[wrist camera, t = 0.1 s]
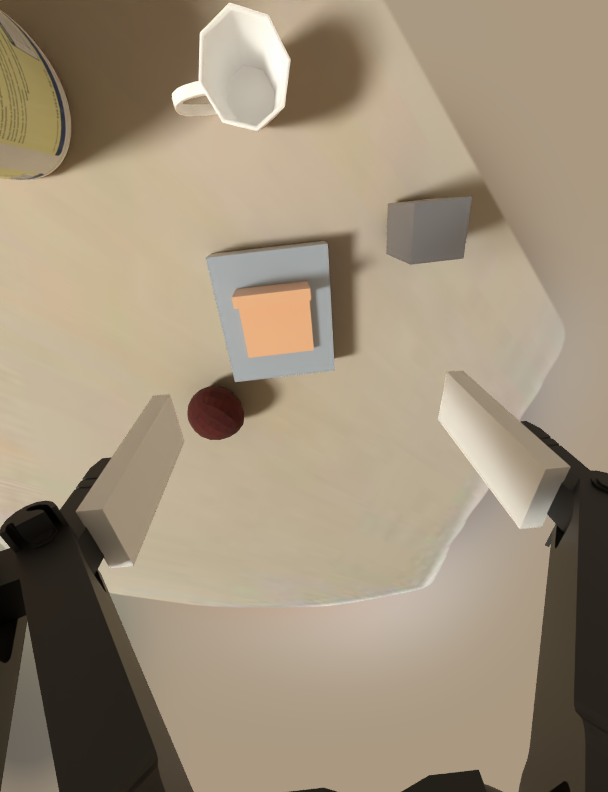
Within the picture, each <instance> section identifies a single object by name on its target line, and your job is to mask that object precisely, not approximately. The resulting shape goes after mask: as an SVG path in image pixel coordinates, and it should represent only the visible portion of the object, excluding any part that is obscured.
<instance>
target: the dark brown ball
mask: <svg viewBox="0 0 608 792" xmlns="http://www.w3.org/2000/svg"><path fill="white" fill-rule="evenodd" d="M188 420H189V422H190V424H191V426H192V428H193V429H194V430H195V432H197V433H198V434H199V435H200V436H201V437H204V438H207V439H210V440H221V439H224V438H227V437H230V436H232V435H233V434H235V433H237V432H238V431H239V429H240V428H241V426H242V425H243V422H244V410H243V408H242V405H241V402H240V401H239V399H238V398H237V397H236V396H235V394H234V393H233V392H231V391H229V390H227V389H225V388H222V387H216V386H211V387H206V388H204V389H201V390H200V391H198V392H197V393H196V394H195V395H194V396H193V398H192V399H191V401H190V403H189V405H188Z"/></svg>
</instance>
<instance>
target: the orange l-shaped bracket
mask: <svg viewBox="0 0 608 792" xmlns="http://www.w3.org/2000/svg"><path fill="white" fill-rule="evenodd" d="M231 298H232V302H233V307H234V309H239V313H240V318H241V323H242V328H243V333H244V338H245V343H246V348H247V352H248V357H249V358H253V357H261V356H270V355H279V354H287V353H296V352H304V351H313V350H314V345H313V334H312V322H311V311H310V300H311V292H310V286H309V284H308V281H302V282H293V283H285V284H276V285H267V286H259V287H250V288H242V289H236V290H235V292H234V294H233V296H232V297H231Z"/></svg>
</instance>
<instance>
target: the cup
mask: <svg viewBox="0 0 608 792" xmlns="http://www.w3.org/2000/svg"><path fill="white" fill-rule="evenodd" d="M290 61H291V59H290V57H289V55H288V53H287V51H286V49H285V47H284V45H283V43H282V41H281V39H280V37H279V35H278V33H277V31H276V29H275V27H274V25H273V23H272V21H271V19H270V17H269V15H268V14H265V13H262V12H258V11H255V10H252V9H249V8H246V7H243V6H239V5H236V4H233V3H230V2H229V3H228V4H227V5H226V6H225V7H224V8H223V9H222V10H221V11H220V12H219V13H218V15H217V16H216V17H215V18H214V19H213V20H212V21H211V22H210V23H209V24H208V25H207V26H206V27H205V28H204V29H203V30H202V31H201V32H200V45H199V81H196V82H192V83H189V84H186V85H183V86H181V87H179V88H177V89H176V90H175V91H174V92H173V93H172V100H173V104H174V107H175V110H176V112H177V113H178V114H180V115H183V116H210V115H219V117H220V119H221V120H222V122H223V123H226V124H230V125H233V126H236V127H240V128H244V129H248V130H252V131H256V132H259V131H260V130H261V129H262V128H264V127H265V126H266V125H267V124H268V123H269V122H270V121H271V120H273V119H274V118H275V117H276V116H277V115H278V114H279V113H280V111H281V110H282V109H283V108H284V107H285V101H286V93H287V85H288V77H289V69H290ZM201 96H207V98H208V99H209V101H210V103H211V104H182V103H183V102H184V101H186V100H188V99H191V98H196V97H201Z"/></svg>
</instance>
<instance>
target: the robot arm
mask: <svg viewBox="0 0 608 792" xmlns="http://www.w3.org/2000/svg"><path fill="white" fill-rule="evenodd" d="M438 420H439V421H440V423H441V424H442V425H443V427H444V428H445V429H446V431H447V432H448V433H449V435H450V436H451V437H452V439H453V440H454V441H455V443H456V444H457V445H458V447H459V448H460V449H461V451H462V452H463V454H464V455H465V456H466V458H467V459H468V460H469V462H470V463H471V464H472V466H473V467H474V468H475V470H476V471H477V472H478V474H479V475H480V476H481V478H482V479H483V480H484V482H485V483H486V484H487V486H488V487H489V488H490V489H491V491H492V492H493V494H494V495H495V496H496V498H497V499H498V500H499V502H500V503H501V504H502V506H503V507H504V508H505V510H506V511H507V512H508V514H509V515H510V516H511V517H512V519H513V520H514V522H515V523H516V524H517V526H518V527H519V528H520V529H524V528H535V527H542V525H543V523H544V521H545V519H546V516H547V515H549V517H550V518H551V519H552V520H553V521H554V522H555V523H556V525H555V527H554V529H553V531H552V532H551V534H550V536H549V538H548V540H547V542H546V544H545V545H546V546H548V547H549V546H550V544H551V548H550V558H549V568H548V577H547V587H546V597H545V606H544V616H543V625H542V636H541V645H540V655H539V664H538V674H537V683H536V693H535V702H534V713H533V722H532V731H531V742H530V749H529V755H528V759H527V762H526V765H525V768H524V770H523V773H522V778H521V782H520V787H519V792H608V473H604V472H600V471H590V470H589V469H588V468H586V467H585V466H584V465H583V464H582V463H581V462H580V461H578V460H577V459H576V458H575V457H574V456H572V455H571V454H570V453H569V452H568V451H567V450H565V449H564V448H563V447H562V446H559V444H558V443H557V442H556V441H555V440H554V439H551V438H550V436H549V435H548V434H546V433H545V432H544V431H543V430H542V429H541V428H539V427H537V426H535V425H533V424H531V423H529V422H527V421H521V422H520V421H519V420H518V419H516V418H515V417H514V416H513V415H512V414H511V413H510V412H509V411H507V410H506V409H505V408H504V407H503V406H502V405H501V404H500V403H498V402H497V401H496V400H495V399H494V398H493V397H492V396H491V395H490V394H488V393H487V392H486V391H485V390H484V389H483V388H482V387H481V386H479V385H478V384H477V383H476V382H475V381H474V380H473V379H472V378H470V377H469V376H468V375H467V374H466V373H465V372H464V371H452V372H447V374H446V380H445V385H444V390H443V396H442V401H441V406H440V412H439V417H438ZM183 443H184V438H183V435H182V432H181V429H180V426H179V422H178V419H177V416H176V413H175V409H174V406H173V403H172V400H171V397H170V394H169V395H157V396H153V397H152V398H151V400H150V401H149V403H148V404H147V406H146V407H145V409H144V410H143V412H142V413H141V415H140V416H139V418H138V419H137V421H136V422H135V424H134V425H133V427H132V428H131V430H130V431H129V433H128V434H127V436H126V437H125V439H124V440H123V442H122V443H121V445H120V446H119V448H118V449H117V451H116V452H115V454H114V455H113V457H112V458H102V459H101V460H100V461H99V462H97V463H96V464H95V465H94V466H92V467H91V468H90V469H89V471H88V472H87V473H86V475H85V476H84V478H83V481H81V482H80V483H79V484H78V486H77V487H76V490H74V491H73V493H72V494H71V495H70V497H69V498H68V500H67V501H66V502H65V504H64V505H63V506H62V508H61V509H60V510H59V509H58V507H57V506H56V505H55V504H54V503H53V502H51V501H41V502H36V503H33V504H30V505H28V506H25V507H24V508H22V509H20V510H19V511H17V512H15V513H14V514H13V515H12V516H10V517H9V518H8V519H7V520H6V521H5V522H4V524H3V525H2V526H1V529H0V536H1V537H2V538H3V539H4V541H5V542H6V543H7V544H8V545H9V547H10V548H9V549H6V550H3V551H0V791H1V784H2V778H3V772H4V765H5V759H6V752H7V746H8V740H9V733H10V727H11V721H12V714H13V708H14V702H15V695H16V689H17V682H18V676H19V670H20V663H21V657H22V651H23V644H24V638H25V632H26V625H27V620H28V626H29V631H30V636H31V641H32V647H33V653H34V658H35V663H36V669H37V674H38V679H39V685H40V690H41V695H42V700H43V706H44V711H45V717H46V722H47V727H48V733H49V738H50V744H51V749H52V754H53V760H54V765H55V771H56V776H57V781H58V787H59V792H193V790H192V787H191V785H190V783H189V780H188V778H187V775H186V773H185V771H184V769H183V767H182V764H181V761H180V759H179V757H178V754H177V752H176V750H175V748H174V745H173V743H172V740H171V738H170V736H169V733H168V731H167V728H166V726H165V724H164V722H163V719H162V717H161V714H160V712H159V710H158V707H157V705H156V702H155V700H154V698H153V695H152V693H151V691H150V688H149V686H148V684H147V681H146V679H145V677H144V674H143V672H142V669H141V667H140V665H139V663H138V660H137V658H136V655H135V653H134V651H133V649H132V646H131V644H130V641H129V639H128V637H127V634H126V632H125V629H124V627H123V625H122V622H121V620H120V618H119V615H118V613H117V611H116V608H115V606H114V604H113V601H112V599H111V597H110V594H109V592H108V589H107V587H106V585H105V582H104V580H103V578H102V575H101V573H100V572H99V570H98V567H99V566H100V564H101V562H102V560H103V558H104V559H105V561H106V562H107V564H108V565H109V567H110V568H116V567H126V566H134V563H135V561H136V558H137V556H138V553H139V551H140V549H141V546H142V544H143V541H144V539H145V536H146V534H147V531H148V529H149V526H150V524H151V522H152V519H153V517H154V514H155V512H156V509H157V507H158V504H159V502H160V500H161V497H162V495H163V492H164V490H165V487H166V485H167V482H168V480H169V477H170V475H171V473H172V470H173V468H174V465H175V463H176V460H177V458H178V455H179V453H180V451H181V448H182V446H183ZM291 792H336V791H332V790H329V789H326V788H318V789H309V790H300V791H291ZM402 792H502V791H500V790H498V789H496V788H493V787H491V786H489V785H485V784H484V783H483V780H482V778H481V775H480V772H479V770H473V771H464V772H456V773H447V774H438V775H429V776H427V777H426V778H424V779H422V780H421V781H419V782H417V783H416V784H414V785H412V786H410V787H409V788H407V789H405V790H404V791H402Z"/></svg>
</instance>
